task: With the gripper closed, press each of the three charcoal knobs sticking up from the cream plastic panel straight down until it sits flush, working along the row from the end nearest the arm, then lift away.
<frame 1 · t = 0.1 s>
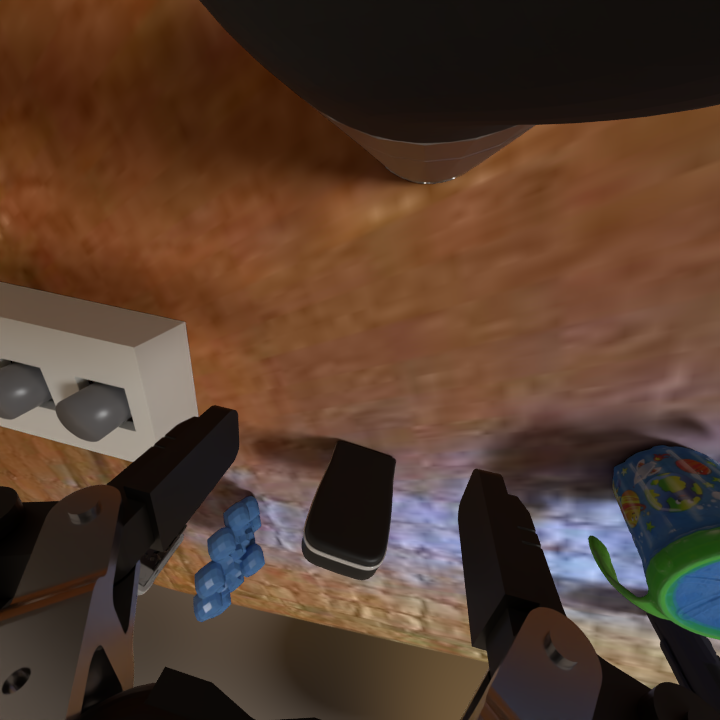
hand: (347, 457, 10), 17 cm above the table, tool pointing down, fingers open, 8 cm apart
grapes: (262, 510, 42), on the table
knob 1: (106, 404, 29), point 6 cm above the table, slide at 0.0 cm
battery charger: (363, 458, 34), on the table
knob 2: (26, 384, 29), point 6 cm above the table, slide at 0.0 cm
two-way radio: (655, 603, 36), on the table
electrical switch: (163, 512, 47), on the table
snack cup: (654, 472, 28), on the table
knob panel: (86, 356, 35), on the table
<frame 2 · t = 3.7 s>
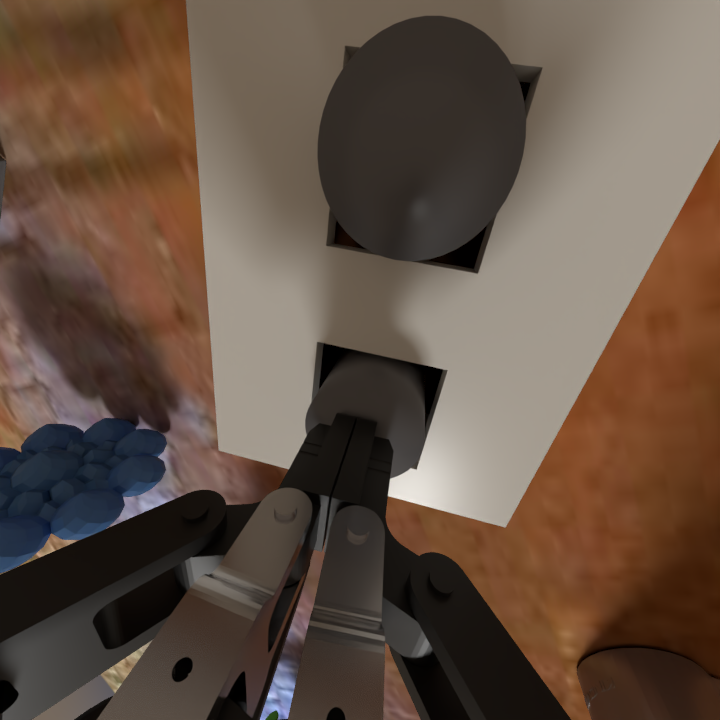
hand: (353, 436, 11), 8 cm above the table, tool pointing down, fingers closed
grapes: (134, 432, 26), on the table
knob 1: (373, 398, 13), point 5 cm above the table, slide at 0.9 cm, touching gripper
battery charger: (288, 566, 29), on the table
knob 2: (417, 170, 9), point 6 cm above the table, slide at 0.0 cm
knob panel: (421, 187, 14), on the table
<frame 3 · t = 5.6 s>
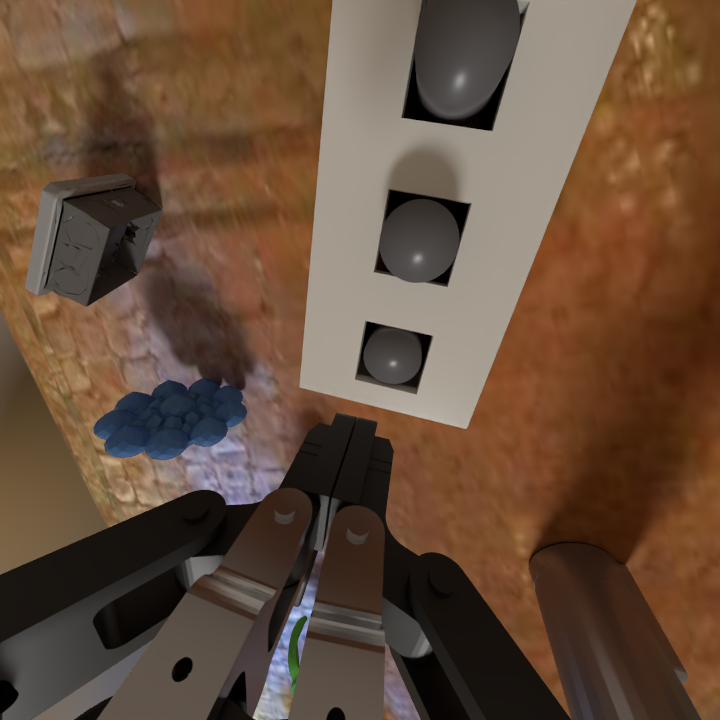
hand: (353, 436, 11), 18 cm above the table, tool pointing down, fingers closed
knob 3: (459, 64, 16), point 6 cm above the table, slide at 0.0 cm
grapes: (217, 390, 36), on the table
knob 1: (395, 346, 26), point 3 cm above the table, slide at 2.6 cm
knob 2: (419, 240, 20), point 6 cm above the table, slide at 0.0 cm
electrical switch: (143, 234, 30), on the table
snack cup: (345, 615, 51), on the table
knob panel: (421, 235, 25), on the table
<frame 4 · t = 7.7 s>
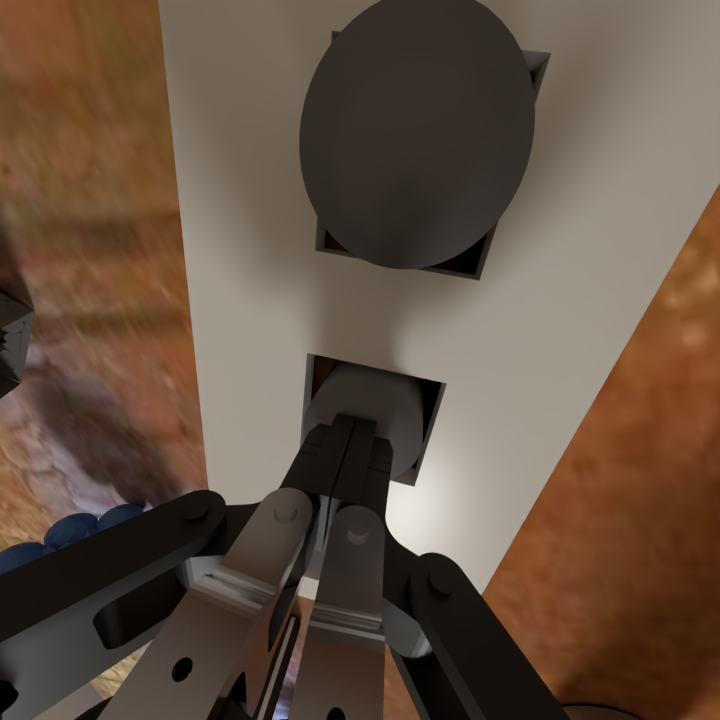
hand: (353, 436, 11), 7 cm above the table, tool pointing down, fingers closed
knob 3: (413, 168, 8), point 6 cm above the table, slide at 0.0 cm
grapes: (142, 511, 29), on the table
knob 1: (350, 513, 18), point 3 cm above the table, slide at 2.6 cm
battery charger: (281, 624, 32), on the table
knob 2: (371, 399, 14), point 4 cm above the table, slide at 1.8 cm, touching gripper
electrical switch: (18, 336, 22), on the table
knob panel: (383, 359, 17), on the table
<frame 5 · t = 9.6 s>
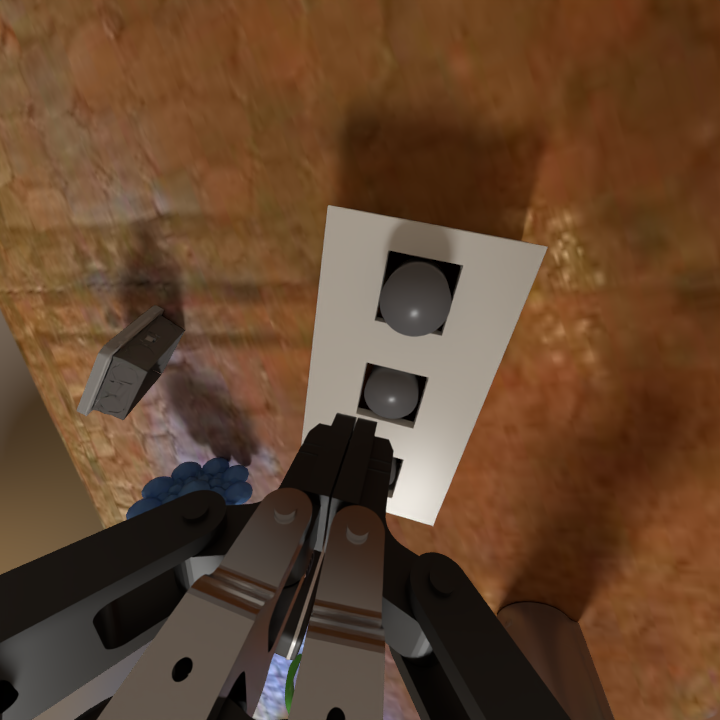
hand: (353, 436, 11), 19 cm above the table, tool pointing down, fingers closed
knob 3: (416, 294, 22), point 6 cm above the table, slide at 0.0 cm
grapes: (226, 464, 42), on the table
knob 1: (375, 453, 31), point 3 cm above the table, slide at 2.6 cm
battery charger: (315, 551, 46), on the table
knob 2: (393, 381, 28), point 3 cm above the table, slide at 2.6 cm
electrical switch: (167, 345, 36), on the table
snack cup: (337, 651, 56), on the table
knob panel: (397, 365, 31), on the table
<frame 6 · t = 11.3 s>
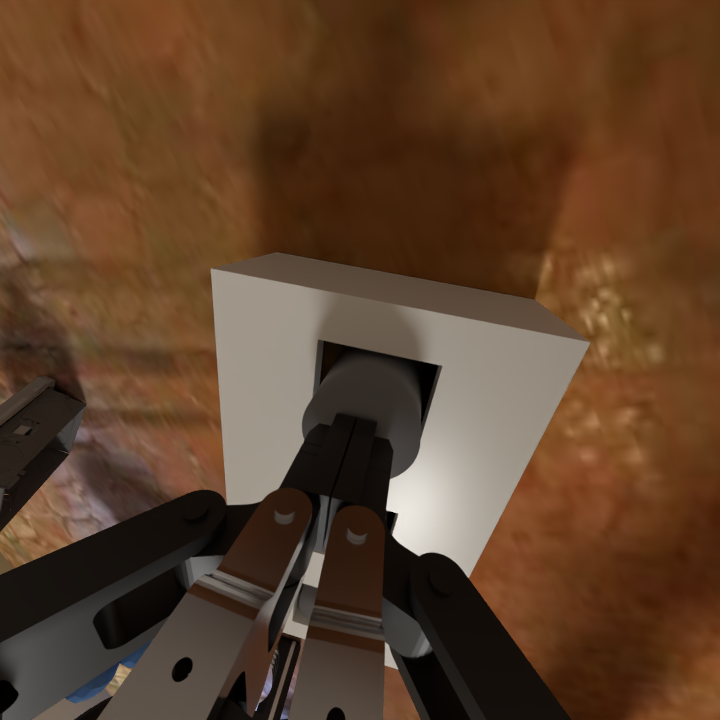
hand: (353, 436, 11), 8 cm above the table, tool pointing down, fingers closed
knob 3: (370, 400, 14), point 6 cm above the table, slide at 0.3 cm, touching gripper
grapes: (165, 553, 34), on the table
knob 1: (339, 573, 23), point 3 cm above the table, slide at 2.6 cm
battery charger: (284, 646, 37), on the table
knob 2: (354, 494, 19), point 3 cm above the table, slide at 2.6 cm
electrical switch: (70, 420, 27), on the table
knob panel: (364, 456, 22), on the table
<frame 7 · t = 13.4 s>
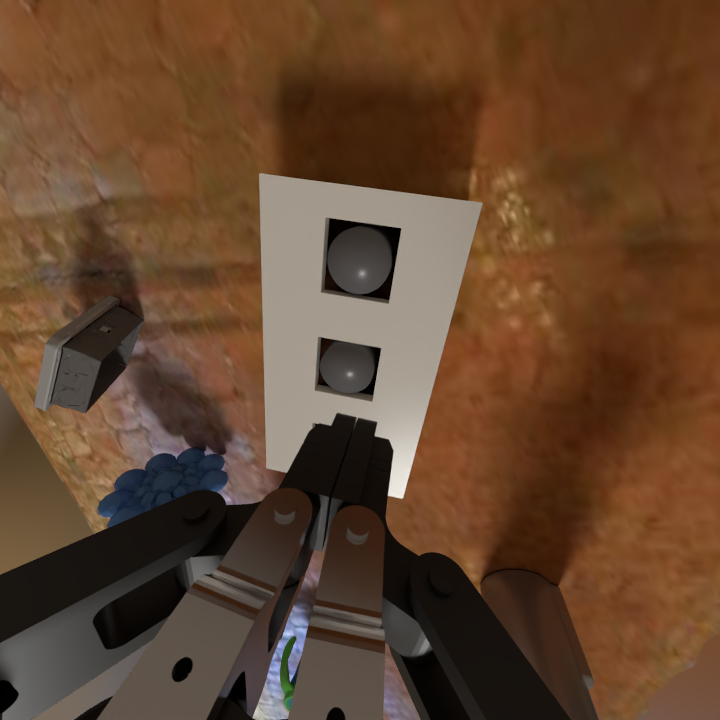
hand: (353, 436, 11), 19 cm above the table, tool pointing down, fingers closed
knob 3: (364, 257, 23), point 3 cm above the table, slide at 2.6 cm
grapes: (202, 455, 42), on the table
knob 2: (352, 356, 27), point 3 cm above the table, slide at 2.6 cm
electrical switch: (129, 336, 35), on the table
snack cup: (332, 632, 57), on the table
knob panel: (358, 341, 30), on the table
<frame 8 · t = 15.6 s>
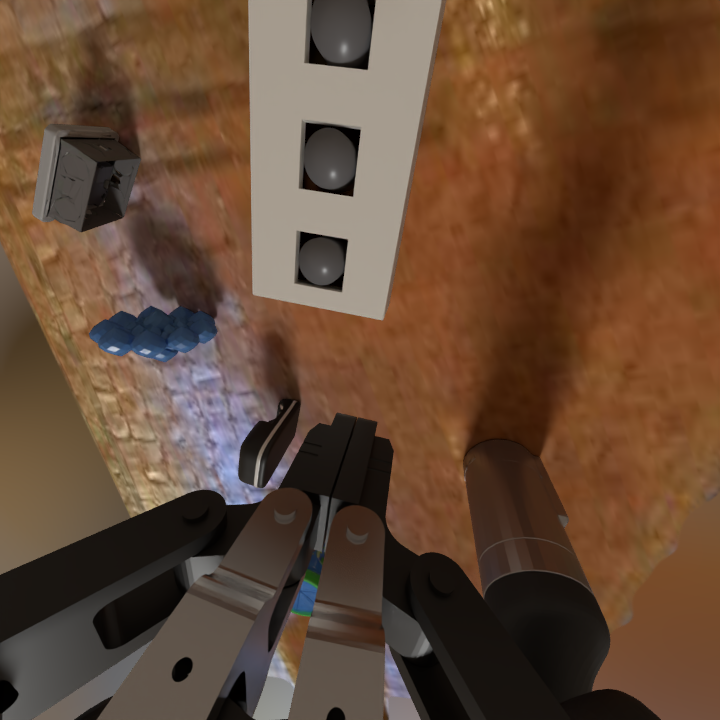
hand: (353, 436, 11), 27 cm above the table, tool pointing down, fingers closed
knob 3: (347, 39, 25), point 3 cm above the table, slide at 2.6 cm
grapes: (194, 321, 43), on the table
knob 1: (327, 259, 32), point 3 cm above the table, slide at 2.6 cm
battery charger: (287, 414, 47), on the table
knob 2: (335, 163, 28), point 3 cm above the table, slide at 2.6 cm
electrical switch: (126, 181, 36), on the table
snack cup: (318, 535, 58), on the table
knob panel: (344, 168, 32), on the table
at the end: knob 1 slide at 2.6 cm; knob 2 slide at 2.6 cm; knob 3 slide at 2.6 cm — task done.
